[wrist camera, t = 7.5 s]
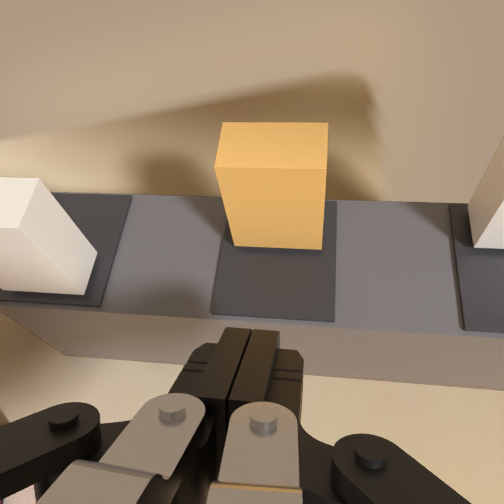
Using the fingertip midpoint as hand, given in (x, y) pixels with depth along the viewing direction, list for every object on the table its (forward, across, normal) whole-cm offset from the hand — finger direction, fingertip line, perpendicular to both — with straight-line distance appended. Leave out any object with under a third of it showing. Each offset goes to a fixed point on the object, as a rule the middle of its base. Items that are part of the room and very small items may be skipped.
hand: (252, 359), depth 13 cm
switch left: (+6, +10, 0) cm, 11 cm away
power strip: (+12, 0, +4) cm, 13 cm away
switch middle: (+8, 0, -2) cm, 8 cm away
